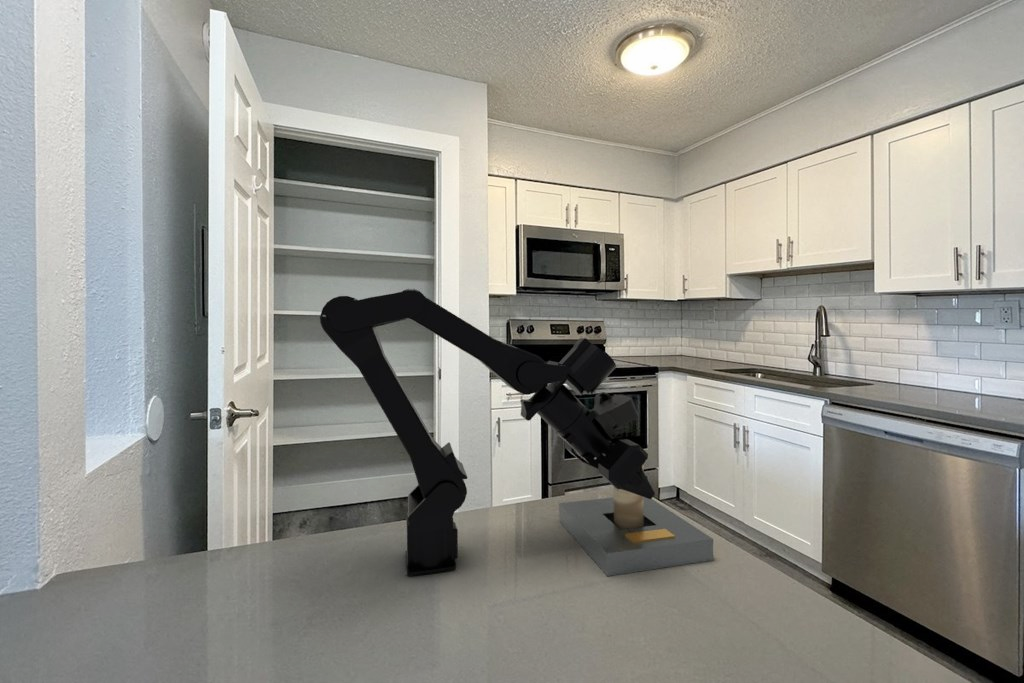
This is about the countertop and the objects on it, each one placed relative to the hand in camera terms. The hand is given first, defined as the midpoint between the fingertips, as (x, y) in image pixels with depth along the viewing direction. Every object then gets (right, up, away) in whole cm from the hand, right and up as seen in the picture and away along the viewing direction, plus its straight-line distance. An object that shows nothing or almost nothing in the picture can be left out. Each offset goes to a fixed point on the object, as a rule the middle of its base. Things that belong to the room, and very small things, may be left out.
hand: (637, 485), depth 70 cm
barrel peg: (-1, -8, 0) cm, 8 cm away
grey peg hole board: (-1, -8, 0) cm, 8 cm away
